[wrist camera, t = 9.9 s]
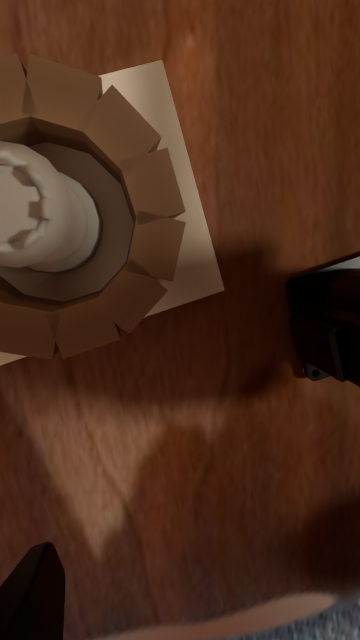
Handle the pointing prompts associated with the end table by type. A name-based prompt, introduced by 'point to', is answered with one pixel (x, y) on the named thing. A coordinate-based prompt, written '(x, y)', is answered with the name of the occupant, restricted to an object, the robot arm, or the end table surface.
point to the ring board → (105, 206)
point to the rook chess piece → (44, 214)
